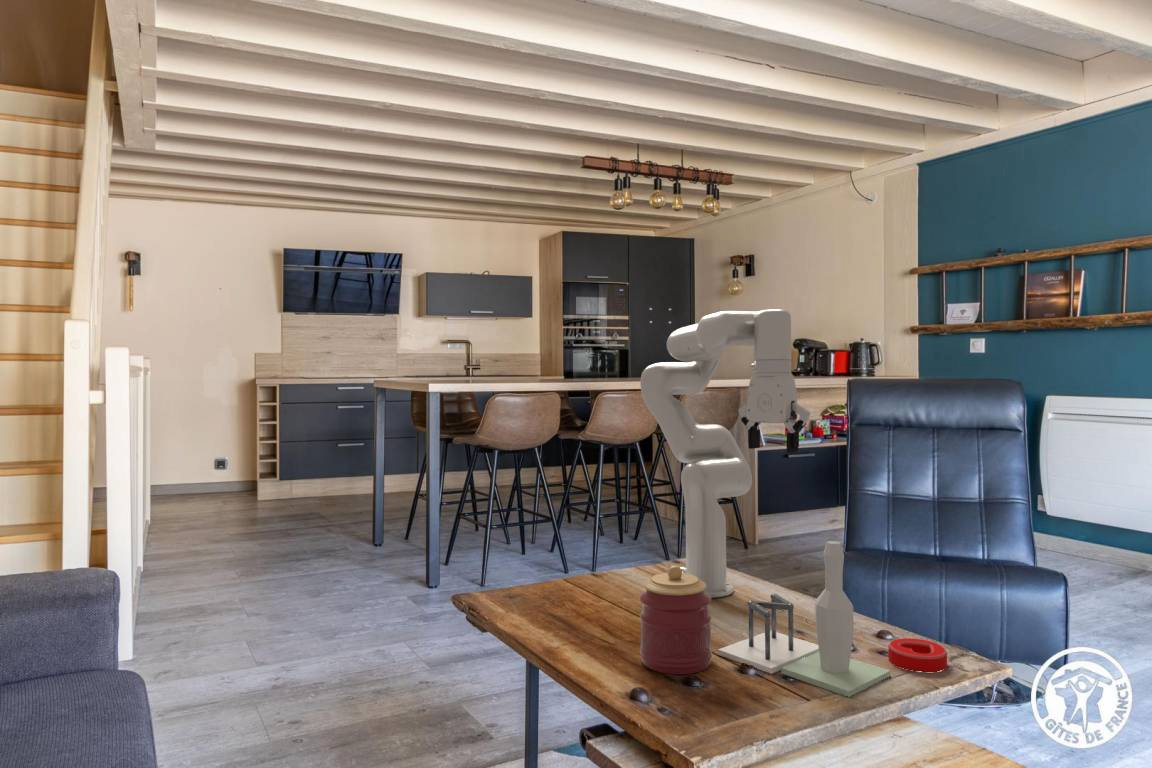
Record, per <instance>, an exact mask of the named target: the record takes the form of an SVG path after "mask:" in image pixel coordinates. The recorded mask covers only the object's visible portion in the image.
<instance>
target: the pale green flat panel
mask: <svg viewBox="0 0 1152 768" xmlns="http://www.w3.org/2000/svg"><path fill="white" fill-rule="evenodd" d="M780 671H781V674H782V675H785V676H788V677H790V678H794V679H796V680H799V681H802V682H805V683H808V684H810V685H813V686H817V687H819V688H821V689H825V690H827V691H830V692H833V693H836V694H839V695H841V694H842V696H844V697H847V696H848V697H847V698H851V697H852V695H853V696H854V694H855V695H856V693H857V694H859V693H860V691H861V692H862V690H863V691H864V690H866V689H868V688H870V687H872V686H874V685H876V684H879V683H880V682H882V681H884V680H886V679H888V678H890V677H891V670H890V669H886V668H883V667H881V666H877V665H874V664H871V663H867V662H864V661H861V660H858V659H855V658H851V657H850V664H849V672H846V673H842V674H836V673H828V672H826V671H824V670H822V669H821V664H820V656H819V652H818V653H815V654H813V655H810V656H808V657H806V658H803V659H801V660H799V661H796V662H794V663H791V664H789V665H787V666H784V667H782V668H781V670H780ZM889 676H890V677H889ZM887 677H888V678H887ZM885 678H886V679H885ZM883 679H884V680H883ZM881 680H882V681H881ZM879 681H880V682H879ZM875 683H876V684H875ZM873 684H874V685H873ZM871 685H872V686H871ZM869 686H870V687H869ZM867 687H868V688H867ZM858 692H859V693H858ZM850 696H851V697H850Z"/></svg>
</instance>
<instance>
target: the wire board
mask: <svg viewBox="0 0 1152 768" xmlns="http://www.w3.org/2000/svg"><path fill="white" fill-rule="evenodd" d="M818 652H819V648H818V643H813V642H810V641H807V640H803V639H800V638H797V637H794V636H793V651H790V650H788V634H787V635H786V634H785V633H784V634H783V633H781V632H778V631H776V638H772V633H771V629H770V660H766V659H765V632H762V633H759V634H757V635H754V647H749V637H748V638H746V639H743V640H740V641H737V642H734V643H732V644H729V645H727V646H724V647H721V648H718V649H717V654H718V656H720V657H723V658H726V659H729V660H731V661H734V662H737V663H740V664H742V663H750V664H751V665H753V666H754V667H755V668H754V667H753V668H754V669H756V668H757V669H756V670H760V671H762V672H764V673H768V674H770V675H773V674H774V673H777V672H779V671H781V668H782V667H784V666H787V665H789V664H791V663H794V662H796V661H799V660H800V659H802V658H804V657H808V656H810V655H813V654H815V653H818Z"/></svg>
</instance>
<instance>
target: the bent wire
mask: <svg viewBox="0 0 1152 768" xmlns="http://www.w3.org/2000/svg"><path fill="white" fill-rule="evenodd" d="M747 606H748V638H749V647H754V636H755V634H754V633H755V632H754V620H755V619H754V612H755V613H757V614H758V615H760V616H761V617H762V618H764V633H765V659H766V660H770V630H771V633H772V638H776V632H777V610H781V611H787V620H788V621H787V622H788V623H787V627H788V628H787V629H788V630H787V631H788V634H787V635H788V650H790V651H793V637H794V609H795V605H794V604H793V603H792V602H790V601H788V600H787V599H786V598H783V597H782V596H780V595H779V594H777V593H771V594H770V601H763V600H762V601H761V600H749V601H748V602H747ZM767 609H768V610H767Z"/></svg>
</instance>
